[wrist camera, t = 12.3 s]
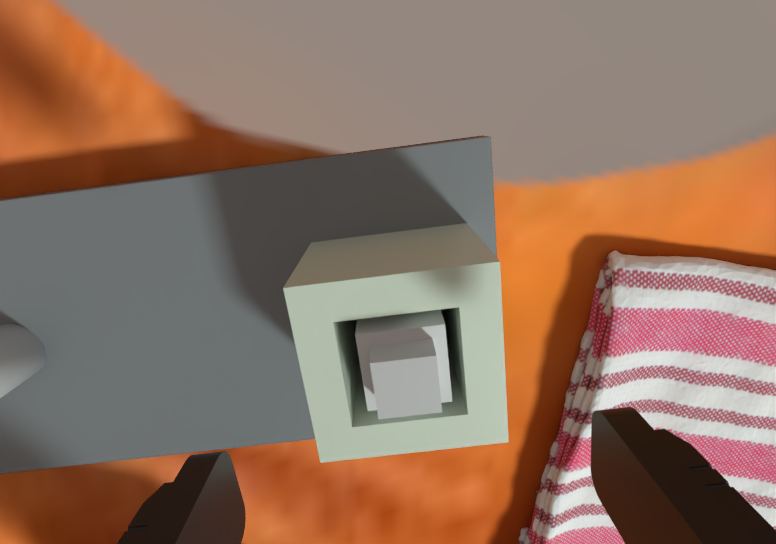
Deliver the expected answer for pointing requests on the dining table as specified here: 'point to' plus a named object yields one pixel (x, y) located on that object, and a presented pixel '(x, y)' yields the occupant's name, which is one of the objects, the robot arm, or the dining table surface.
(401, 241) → the collar
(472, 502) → the dining table surface
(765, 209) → the dining table surface
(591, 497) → the dish towel
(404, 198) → the board
